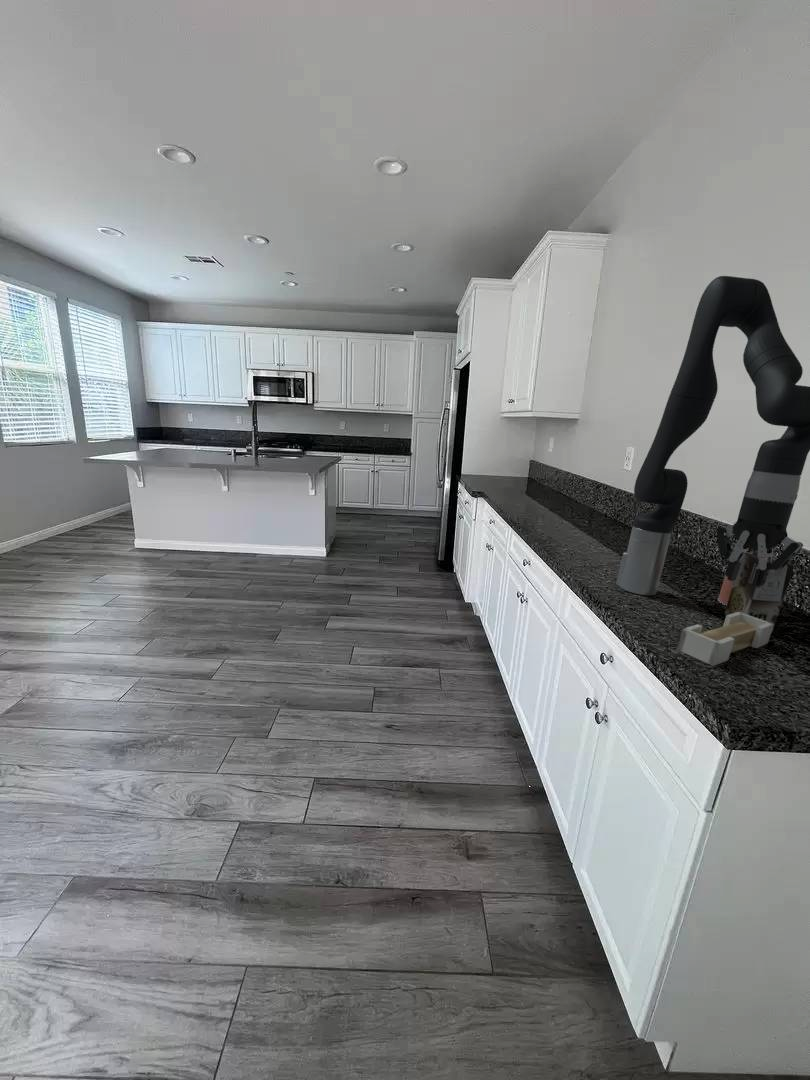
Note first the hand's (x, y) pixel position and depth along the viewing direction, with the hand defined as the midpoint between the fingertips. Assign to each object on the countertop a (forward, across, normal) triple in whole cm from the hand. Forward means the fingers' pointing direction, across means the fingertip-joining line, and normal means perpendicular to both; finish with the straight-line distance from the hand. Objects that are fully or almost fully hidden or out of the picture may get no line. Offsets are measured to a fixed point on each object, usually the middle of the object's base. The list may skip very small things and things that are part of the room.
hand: (743, 583), depth 86 cm
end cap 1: (+14, 0, -9) cm, 16 cm away
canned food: (+14, -10, +34) cm, 38 cm away
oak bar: (+14, 0, -1) cm, 14 cm away
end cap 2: (+14, 0, +9) cm, 17 cm away
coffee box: (+14, -4, +21) cm, 26 cm away
